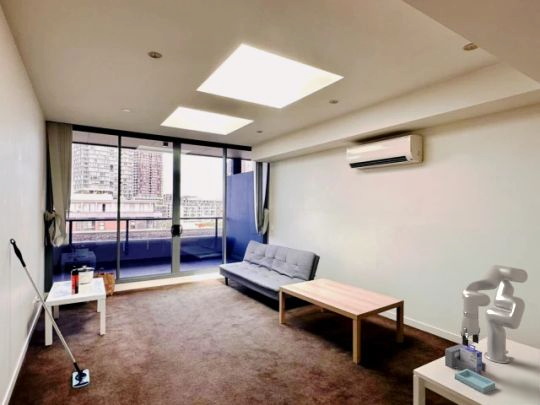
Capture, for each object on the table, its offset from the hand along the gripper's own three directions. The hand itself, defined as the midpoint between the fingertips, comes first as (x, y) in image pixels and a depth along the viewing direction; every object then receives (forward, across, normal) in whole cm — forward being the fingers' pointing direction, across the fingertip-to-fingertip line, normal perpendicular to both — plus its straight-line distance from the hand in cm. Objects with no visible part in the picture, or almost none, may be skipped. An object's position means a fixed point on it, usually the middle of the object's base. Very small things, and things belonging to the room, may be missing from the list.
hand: (470, 344), depth 181 cm
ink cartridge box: (+16, -1, 0) cm, 16 cm away
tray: (+16, +11, +9) cm, 21 cm away
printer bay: (+16, -1, -2) cm, 16 cm away
